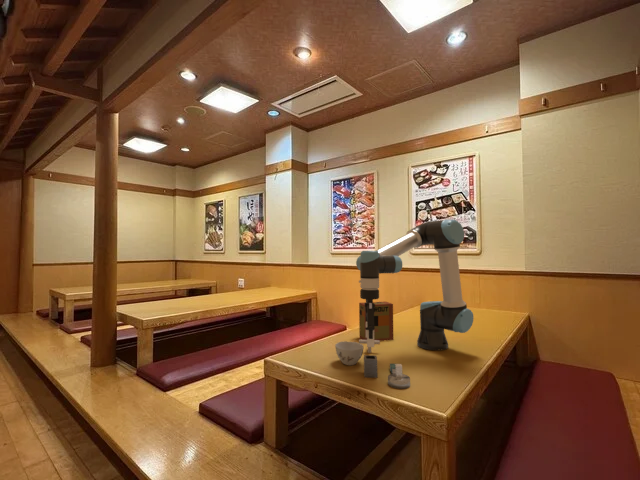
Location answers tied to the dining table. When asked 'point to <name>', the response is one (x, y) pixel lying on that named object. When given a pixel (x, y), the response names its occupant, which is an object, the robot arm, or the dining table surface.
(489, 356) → the dining table surface
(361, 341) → the pipe connector
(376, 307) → the box
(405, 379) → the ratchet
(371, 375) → the square hollow tube
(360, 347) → the teacup
